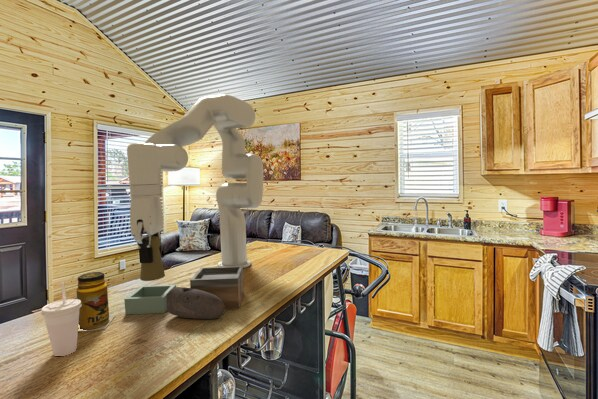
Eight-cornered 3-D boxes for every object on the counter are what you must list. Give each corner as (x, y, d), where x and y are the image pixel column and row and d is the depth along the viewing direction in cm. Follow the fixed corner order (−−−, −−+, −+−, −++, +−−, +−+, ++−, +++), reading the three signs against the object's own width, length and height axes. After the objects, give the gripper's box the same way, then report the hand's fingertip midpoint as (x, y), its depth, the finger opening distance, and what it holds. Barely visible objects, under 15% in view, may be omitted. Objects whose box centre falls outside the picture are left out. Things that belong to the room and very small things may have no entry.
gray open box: (202, 295, 92) (200, 267, 92) (243, 293, 93) (242, 266, 92) (191, 311, 81) (190, 280, 81) (238, 309, 82) (237, 278, 81)
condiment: (105, 329, 72) (101, 278, 72) (62, 334, 71) (58, 281, 70) (115, 315, 80) (112, 268, 79) (77, 320, 78) (73, 271, 77)
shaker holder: (141, 299, 90) (141, 285, 89) (176, 298, 90) (175, 284, 90) (125, 314, 80) (124, 299, 80) (164, 312, 81) (163, 297, 80)
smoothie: (91, 347, 65) (86, 280, 64) (56, 364, 59) (50, 291, 58) (72, 340, 67) (67, 276, 66) (37, 356, 62) (31, 286, 61)
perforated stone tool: (230, 316, 78) (229, 288, 78) (219, 326, 73) (218, 296, 73) (178, 309, 82) (177, 283, 82) (164, 318, 77) (163, 290, 77)
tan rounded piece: (155, 281, 82) (152, 239, 80) (134, 280, 83) (131, 238, 82) (169, 273, 87) (166, 234, 86) (150, 272, 89) (147, 234, 88)
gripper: (145, 189, 91) (150, 251, 93) (114, 194, 74) (120, 270, 76) (172, 189, 92) (176, 250, 93) (147, 193, 75) (153, 268, 76)
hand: (151, 258), depth 85 cm, fingers closed on tan rounded piece, 5 cm apart
